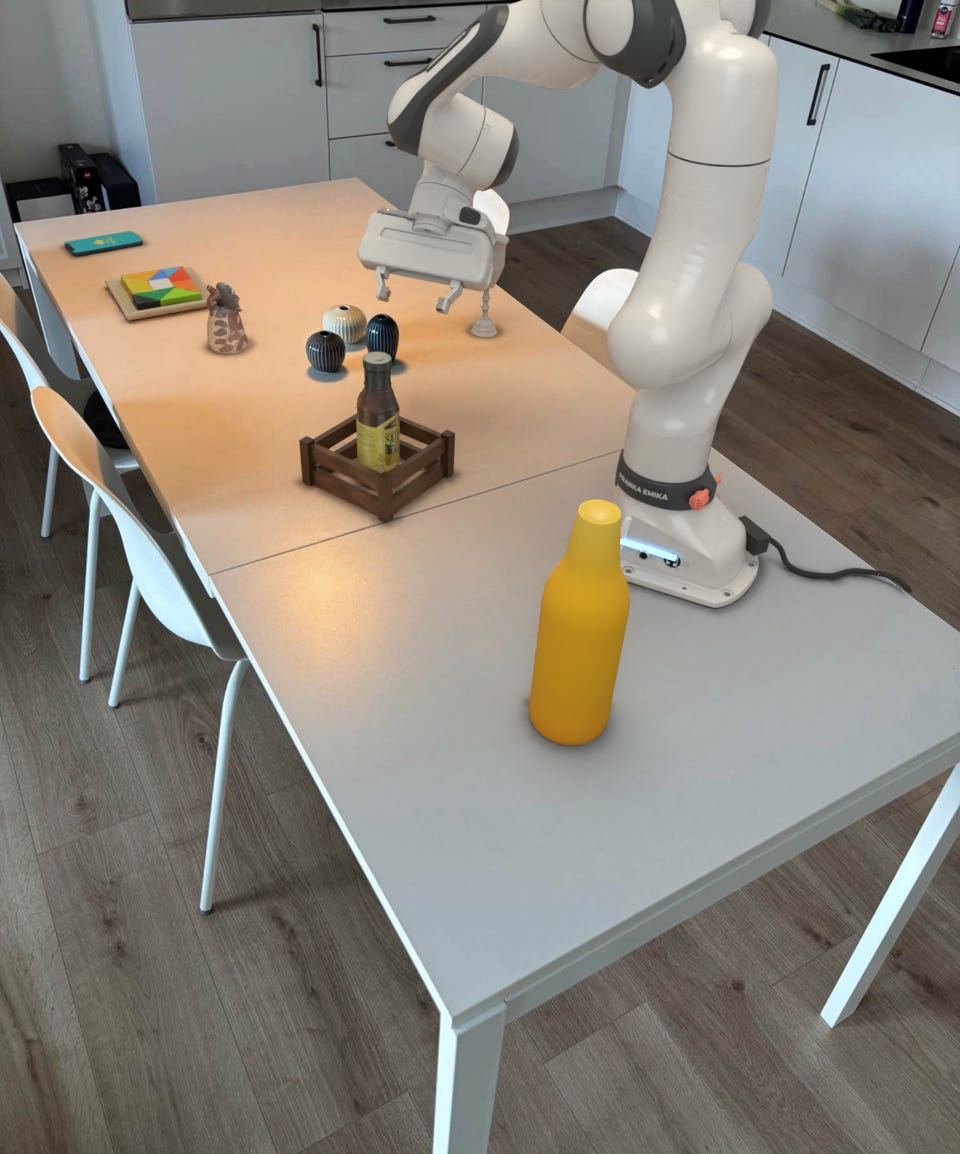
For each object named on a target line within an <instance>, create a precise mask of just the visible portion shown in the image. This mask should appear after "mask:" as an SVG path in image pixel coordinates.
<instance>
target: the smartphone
mask: <svg viewBox="0 0 960 1154" xmlns="http://www.w3.org/2000/svg"><path fill="white" fill-rule="evenodd" d="M143 244H144V242H143V239H141V237H139V236H138V235H137V234H136V233H135V232H134V231H132V230H126V231H119V232H115V233H110V234H109V233H108V234H104V235H97V236H91V237H85V238H80V239H79V238H78V239H74V240H73V239H72V240H68V241H65V242H64V247H66V249H67V250H68V251H69V252H70V254H71V255H73V256H76V257H78V256H84V255H90V254H96V253H101V252H106V251H113V250H119V249H123V248H124V249H125V248H129V247H135V246H141V245H143Z"/></svg>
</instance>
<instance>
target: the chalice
mask: <svg viewBox="0 0 960 1154" xmlns="http://www.w3.org/2000/svg"><path fill="white" fill-rule="evenodd" d="M495 233H496V242H495V244H494V246H493V247H492V248H493V251H494V254H495V262H494V269H493V274H492V278H491V282H490V285H489V287H488V288H486V289H485V290H484V291H483V294H482V296H481V299H482V305H481V306H480V309H481V310H482V314H481V316H480V317H478V318H477V319H476V320H475V321H474V324H473V326H472V328H471V329H470V332H471V334H473V335H475V336H477V337H481V338H491V337H493V336H495V335H497V334H498V329H497V327H496V324H495V322H494V320H493V319H492V318H491V317H490V316H489V314H488V313H489V310H490V309H491V306H490V305H489V302H490V300H491V297H490V290H491V289H493V288H495V286H496V284H497V283H498V281H499V279H500V277H501V275H502V273H503V271H504V268H505V265H506V264H505V263H506V251H507V250H506V248H507V245H508V243H509V242H510V239H509V236H507V235H505V234H503V233H499V232H495Z"/></svg>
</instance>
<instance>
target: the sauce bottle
mask: <svg viewBox="0 0 960 1154" xmlns="http://www.w3.org/2000/svg"><path fill="white" fill-rule="evenodd" d="M392 359H393V358H392V356H391V355H390V354H388V353H386V352H384V351H370V352H367V353H366V354H364V355H363V356H362V367H363V371H364V372H363V375H364V377H363V378H364V380H363V386H364V387H363V388H362V390H361V391H360V392H359V395H358V396H357V399H356V413H357V417H356V420H357V432H356V438H357V457H356V459H357V460H356V461H357V462H358V463H360V464H362V465H364V466H366V467H368V468H371V469H373V470H375V471H377V472H379V473H382V472H384V471H385V472H387V473H388V472H389V471H391V470H392V469H394V468H395V467H397V466H398V465H400V457H399V456H400V440H401V438H400V435H401V434H400V416H401V415H400V413H401V412H400V411H401V410H400V405H399V403H398V402H399V401H398V400H397V398H396V397H397V396H396V395H395V392H394V389H393V387H392V378H391V377H392V375H391V374H392V373H391V372H392V370H391V369H392V368H393V361H392ZM363 485H364V486H366V487H368V488H370V487H369V486H367V485H365V484H363Z"/></svg>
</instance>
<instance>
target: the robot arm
mask: <svg viewBox="0 0 960 1154" xmlns="http://www.w3.org/2000/svg"><path fill="white" fill-rule="evenodd" d="M771 9H772V0H519V1H516V2H513V3H510V4H498V5H493V6H490V7H489V8H488V9H486V10H485V11H484V12H483V13H481V14H480V15H479V16H478V17H477V18H476V19H474V20H473V21H471V23H470V24H468V25H467V27H465V29H463V30H462V31H461V32H460V33H459V34H458V35H457V36H456V37H455V38H454V39H453V40H452V41H451V42H450V43H448V44H447V45H446V47H444V48H443V49H442V50H441V51H440V52H439V53H438V54H436V55H435V56H434V58H433V59H432V60H431V61H430V62H429V63H427V64H426V66H424V67H423V68H421V69H420V70H419V71H416V72H415V73H413V74H412V75H409V77H408V78H406V79H405V80H404V81H403V83H402V84H401V85H400V86H399V87H398V88H397V90H396V92H395V93H394V95H393V97H392V98H391V101H390V104H389V107H388V110H387V111H388V112H387V115H386V120H385V121H386V126H387V129H388V133H389V134H390V137H391V140H392V142H393V143H394V145H395V147H396V149H397V150H399V151H402V152H404V153H407V154H409V155H411V156H414V157H419V158H420V159H423V168H422V169H423V171H422V174H421V177H420V179H419V180H418V182H417V183H416V185H415V188H414V190H413V191H414V192H413V194H412V196H411V197H412V198H411V200H410V205H409V207H408V211H407V210H401V209H392V208H389V207H381V209H377V210H375V211H373V212H372V213H371V214H370V216H369V218H368V221H367V225H366V229H365V232H364V233H363V235H362V238H361V240H360V243H359V245H358V248H357V250H356V256H357V258H358V260H359V262H360V263H361V264H362V266H363V267H364V268H365V269H366V270H371V271H374V273H375V277H376V282H377V285H378V287H377V290H376V293H375V298H376V299H377V301H379V302H385V303H389V302H390V297H391V295H392V291H391V289H390V288H389V287H388V286H387V285H386V281H388V280H389V278H390V275H395V276H401V277H406V278H410V279H416V280H421V281H425V282H430V283H435V284H441V285H444V286H449V288H450V291H449V292H448V293H447V294H446V295H445V296H444V297H438V298H437V303H436V305H435V311H436V312H437V313H439V314H442V315H449V312H450V309H451V305H453V304H454V303H455V302H456V301H457V300H458V299H459V298H460V297H461V296H462V294H463V291H464V290H471V291H475V292H480V293H482V292H484V290H485V289H486V288H488V287H489V285H490V282H491V278H492V274H493V269H494V262H495V254H494V251H493V248H492V247H493V246H494V244H495V242H496V233H497V232H496V230H495V227H494V224H493V223H492V221H491V219H490V218H489V216H488V214H486V213H484V212H482V211H481V210H478V209H477V208H475V207H474V198H475V195H476V193H477V192H478V191H480V192H485V191H488V190H491V189H494V188H497V187H498V186H502V185H503V184H505V183H506V182H507V181H508V180H509V179H510V177H511V175H512V172H513V171H514V168H515V164H516V162H517V159H518V156H519V151H520V147H521V146H520V139H519V134H518V130H517V127H516V125H515V123H513V122H511V121H510V120H509V119H508V118H506V117H505V116H503V115H501V114H500V113H498V112H496V111H494V110H492V109H491V108H488V107H487V106H485V105H482V104H480V103H479V102H477V101H475V100H473V99H472V98H471V97H468V96H466V95H464V94H463V93H460V92H461V91H462V90H463V89H464V88H466V87H467V86H468V85H469V84H470V83H472V81H474V80H476V79H477V78H480V77H481V78H482V77H499V78H505V79H509V80H513V81H514V80H515V81H518V82H522V83H526V84H529V85H532V86H535V87H538V88H542V89H545V90H553V91H565V90H571V89H575V88H578V87H579V86H581V85H583V84H585V83H586V82H588V81H590V80H592V78H593V77H595V76H596V75H597V74H598V73H599V72H600V71H601V70H602V69H603V68H604V67H606V68H608V69H609V70H611V71H613V72H616V73H619V74H621V75H623V76H625V77H628V78H630V80H632V81H634V82H635V83H636V84H638V86H640V87H642V88H644V89H646V90H650V89H653V88H655V87H657V86H659V85H660V84H662V83H663V84H664V85H665V86H666V88H667V90H668V92H669V95H670V97H671V98H670V99H671V106H672V108H671V109H672V110H671V123H670V129H669V134H668V142H667V143H668V144H667V149H666V155H665V156H666V157H665V163H664V172H663V179H662V186H661V192H660V198H659V206H658V211H657V217H656V221H655V225H654V230H653V231H652V236H651V237H650V242H649V244H648V247H647V250H646V252H645V255H644V258H643V261H642V263H641V266H640V268H639V270H638V273H637V276H636V279H635V281H634V283H633V285H632V287H631V290H630V292H629V294H628V296H627V298H626V300H625V301H624V303H623V305H622V306H621V308H620V309H619V311H617V313H616V314H615V316H614V317H613V318H612V320H611V321H610V322H609V325H608V328H607V330H606V335H605V349H606V354H607V359H608V361H609V363H610V365H611V367H612V369H613V370H614V372H615V374H616V375H617V376H618V377H619V379H621V381H624V383H626V384H627V385H629V386H631V387H633V388H636V389H638V390H637V392H636V394H635V395H634V397H633V399H632V401H631V405H630V411H629V416H628V421H627V422H628V423H627V427H626V433H625V434H626V435H625V439H624V440H625V441H624V446H623V448H622V449H621V451H620V453H619V457H618V461H617V464H616V470H615V477H614V478H615V480H614V486H615V491H614V493H613V498H612V501H611V503H613V504H615V505H616V506H617V507H618V508H619V509H620V511H621V538H620V565H621V568H622V570H623V573H624V575H625V578H626V580H627V583H632V584H634V585H637V586H640V587H644V588H647V589H651V590H654V591H657V592H660V593H663V594H667V595H670V596H673V597H676V598H680V599H682V600H686V601H689V602H693V603H696V604H699V605H702V606H706V607H709V608H714V609H719V608H722V607H726V606H728V605H730V604H732V603H735V602H736V601H737V600H739V599H740V598H741V597H742V596H744V595H745V594H746V593H747V591H748V590H749V589H750V588H751V587H752V585H753V583H754V582H755V580H756V578H757V575H758V572H759V567H760V566H759V564H760V561H759V557H758V556H759V555H762V554H764V553H767V552H768V550H769V546H770V544H771V545H772V546H773V547H774V548H775V549H776V550H777V551H778V554H779V556H780V559H781V562H782V564H783V565H784V566H785V567H786V568H787V569H788V570H790V571H791V572H793V573H795V574H797V575H799V576H803V577H806V578H807V577H808V578H814V579H837V578H841V577H844V576H848V575H852V574H860V575H869V576H876V577H881V578H885V579H888V580H891V581H892V582H895V583H896V584H898V585H899V586H900V587H901V588H902V589H903V590H904V591H905V592H907V593H913V589H912V588H911V587H910V585H909V584H908V583H907V582H906V581H905V580H904V579H902V578H901V577H899V576H897V575H895V574H892V573H890V572H887V571H882V570H877V569H870V568H863V567H862V568H861V567H849V568H846V569H842V570H839V571H836V572H816V571H809V570H804V569H801V568H799V567H797V566H795V565H793V564H792V563H791V562H790V561H789V559H788V557H787V554H786V550H785V549H784V548H783V545H781V543H779V542H778V541H777V540H776V539H775V538H773V537H772V536H771V535H770V533H768V532H766V531H765V530H764V529H763V528H761V526H759V525H758V524H757V523H755V521H753V520H752V519H751V518H749V517H748V516H747V515H741V516H737V515H736V514H735V513H734V512H733V511H732V510H731V509H730V507H729V505H727V504H726V503H725V502H724V501H723V499H722V498H721V497H720V496H719V494H717V492H716V491H717V487H718V485H719V484H721V481H722V477H723V472H720V473H719V474H718V475H717V476H716V477H714V475H713V473H712V472H711V468H710V464H709V458H710V453H711V449H712V447H713V446H712V445H713V443H714V442H713V441H714V437H715V434H716V430H717V427H718V422H719V419H720V417H721V413H722V410H723V408H724V406H725V403H726V401H727V399H728V397H729V394H730V393H731V390H732V388H733V386H734V384H735V382H736V380H737V378H738V375H739V374H740V371H741V369H742V367H743V365H744V363H745V360H746V358H747V355H748V354H749V352H750V350H751V348H752V346H753V344H754V342H755V340H756V339H757V338H758V336H759V334H760V333H761V331H762V330H763V329H764V327H765V326H766V324H768V321H769V320H770V317H771V316H772V312H773V307H774V297H773V296H774V295H773V291H772V288H771V285H770V283H769V280H768V279H767V277H766V276H765V275H764V274H763V272H762V271H761V270H759V269H758V268H757V267H755V266H754V265H752V264H750V263H747V262H744V261H740V260H741V257H742V256H743V254H744V252H745V251H746V249H747V247H748V246H749V245H750V244H751V243H752V241H753V239H754V237H755V235H756V233H757V231H758V227H759V223H760V219H761V213H762V209H763V208H762V207H763V203H764V196H765V193H766V186H767V181H768V177H769V172H770V171H769V170H770V166H771V161H772V155H773V150H774V143H775V137H776V129H777V122H778V120H777V119H778V107H779V86H780V85H779V84H780V83H779V81H780V80H779V63H778V59H777V56H776V54H775V52H774V51H773V50H772V49H771V47H769V46H768V45H767V44H766V43H764V42H763V41H761V40H759V39H760V37H761V36H762V35H763V33H764V31H765V29H766V26H767V24H768V22H769V18H770V14H771ZM385 280H386V281H385ZM878 574H879V575H878Z"/></svg>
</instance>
